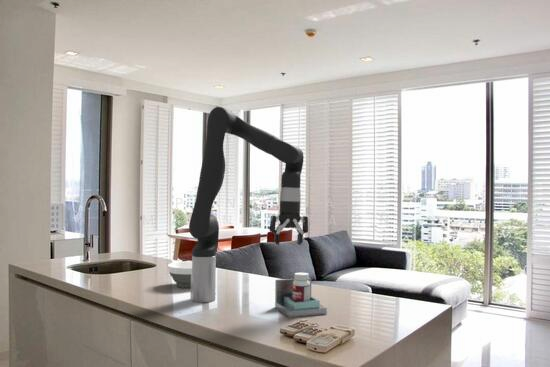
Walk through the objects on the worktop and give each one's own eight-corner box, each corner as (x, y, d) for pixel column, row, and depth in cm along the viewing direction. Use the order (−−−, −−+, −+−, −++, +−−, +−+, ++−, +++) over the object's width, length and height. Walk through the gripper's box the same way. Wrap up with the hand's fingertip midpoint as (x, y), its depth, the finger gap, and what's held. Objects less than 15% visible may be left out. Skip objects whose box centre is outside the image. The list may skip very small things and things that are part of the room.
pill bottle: (289, 305, 156) (289, 273, 156) (299, 302, 161) (299, 271, 161) (302, 308, 152) (303, 275, 152) (313, 305, 157) (313, 273, 157)
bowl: (158, 288, 192) (158, 266, 192) (183, 280, 210) (183, 260, 210) (196, 292, 185) (196, 269, 185) (219, 283, 203) (219, 262, 203)
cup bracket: (289, 317, 148) (289, 287, 148) (275, 307, 161) (275, 279, 162) (326, 313, 153) (326, 285, 153) (309, 304, 166) (310, 277, 166)
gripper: (275, 199, 154) (273, 246, 154) (312, 201, 159) (310, 245, 159) (268, 199, 161) (266, 243, 161) (304, 200, 166) (302, 243, 166)
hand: (288, 244), depth 160 cm, fingers open, 8 cm apart
